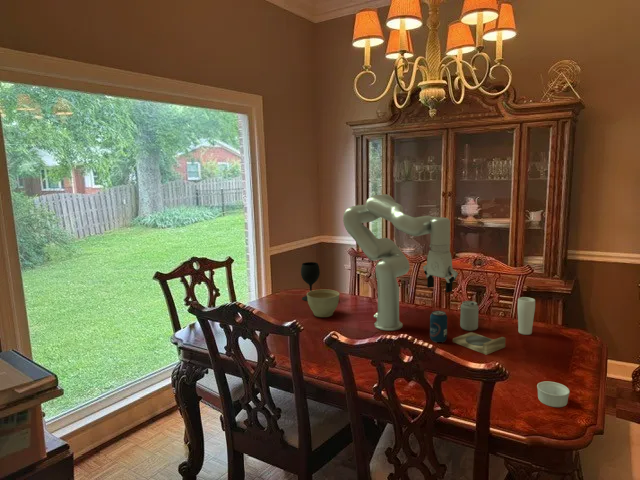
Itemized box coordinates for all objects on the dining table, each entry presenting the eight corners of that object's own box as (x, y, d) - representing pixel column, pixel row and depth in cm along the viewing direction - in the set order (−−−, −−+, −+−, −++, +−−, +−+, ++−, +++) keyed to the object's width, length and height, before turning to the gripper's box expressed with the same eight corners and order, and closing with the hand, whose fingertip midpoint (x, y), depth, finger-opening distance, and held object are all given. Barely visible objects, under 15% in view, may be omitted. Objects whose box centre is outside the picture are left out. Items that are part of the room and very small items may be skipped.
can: (479, 331, 196) (479, 305, 194) (461, 331, 197) (461, 304, 195) (476, 325, 203) (477, 300, 201) (459, 325, 204) (459, 299, 202)
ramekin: (570, 411, 132) (571, 397, 132) (537, 405, 135) (538, 392, 135) (566, 396, 140) (567, 383, 140) (535, 392, 144) (536, 379, 143)
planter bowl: (337, 320, 215) (337, 298, 213) (304, 319, 218) (303, 297, 216) (341, 309, 231) (341, 289, 229) (310, 309, 233) (309, 288, 231)
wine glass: (300, 301, 248) (298, 265, 244) (303, 295, 258) (302, 261, 254) (318, 301, 246) (317, 265, 243) (321, 296, 256) (320, 261, 253)
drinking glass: (533, 331, 194) (535, 297, 192) (533, 336, 188) (535, 302, 186) (516, 329, 197) (518, 296, 195) (516, 334, 191) (517, 300, 189)
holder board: (452, 342, 185) (452, 333, 185) (471, 335, 192) (471, 326, 191) (486, 354, 172) (486, 345, 171) (505, 347, 179) (505, 337, 178)
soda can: (426, 340, 188) (426, 312, 186) (436, 335, 193) (436, 308, 191) (440, 344, 183) (440, 316, 181) (450, 340, 187) (450, 312, 185)
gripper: (417, 246, 186) (417, 286, 189) (450, 252, 172) (450, 295, 175) (430, 244, 191) (429, 283, 193) (463, 249, 176) (462, 292, 179)
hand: (439, 289), depth 184 cm, fingers open, 9 cm apart
